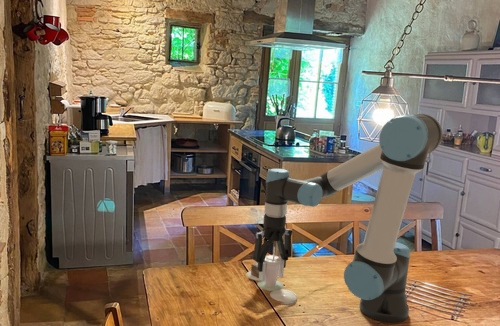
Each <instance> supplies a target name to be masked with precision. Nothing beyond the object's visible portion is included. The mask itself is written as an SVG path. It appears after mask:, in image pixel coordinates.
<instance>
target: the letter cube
mask: <svg viewBox="0 0 500 326" xmlns="http://www.w3.org/2000/svg"><path fill="white" fill-rule="evenodd" d="M250 266H251V268H250V269H251V270H250V271H251V275H253V276H255V277H257V278H259V271H258V262H253V263H252V264H251V265H250Z"/></svg>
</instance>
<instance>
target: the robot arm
mask: <svg viewBox="0 0 500 326" xmlns="http://www.w3.org/2000/svg"><path fill="white" fill-rule="evenodd" d="M378 138H379V139H378V142H379V143H378V144H377V145H374V146H373V147H370V148H369V149H367V150H365V151H363V152H362V153H358V155H356V156H354V157H351V158H350V159H348V160H346V161H344V162H342V163H340V164H339V165H338V166H335V167H333V168H331V169H329V170H328V171H326V172H324V173H322V174H320V175H318V176H314V177H311V178H306V179H297V178H296V179H295V178H292V177H290V171H289V170H286V169H283V168H270V169H268V170H267V173H266V180H265V198H264V211H263V212H264V215H263V229H262V231H259V232H258V231H256V232H255V233H254V235H255V243H254V248H253V256H252V260H253V261H255V263H257V262H258V271H259V279H260V280H261V281H265V267H266V263H265V262H264V260H265V257H266V256H267V254H268V252H269V249H270V247H271V246H272V244H273V242H276V244H277V247H278V252H279V257H280V258H281V263H280V266H279V271H278V276H277V277H278V278H280V279H283V278H284V272H285V268H286V265H287V261H288V260H289V258H291V257H292V235H293V230H292V229H290V228H286V223H287V216H286V215H287V213H288V210H287V209H288V202H292V203H295V204H300V205H302V206H304V207H316V206H318V205H319V204H320V203H321V201H322V199H324V198H328V197H331V196H334V195H335V194H337V192H340V191H342V190H343V189H346V188H348V187H350V186H351V185H354V184H356V183H357V182H359V181H362V180H363V179H366V178H368V177H370V176H372V175H374V174H376V173H378V172H380V171H381V176H380V179H379V183H378V186H377V190H376V195H375V198H374V202H373V205H372V209H371V212H370V217H369V220H368V222H367V228H366V231H365V235H364V239H363V242H361V243H359V244H357V246H356V248H355V252H354V256H353V257H352V261H351V262H349V263H348V264H347V265H346V267H345V269H344V271H343V279H344V283H345V285H346V286H347V288H348V290H349V292H350V293H351V294H352V295H354V296H355V297H356V298H358V299H360V300H359V310H360V311H361V312H362V313H363V314H364V315H365V316H367V317H368V318H371V319H373V320H376V321H379V322H383V323H389V324H390V323H394V324H395V323H402V322H404V321H406V320H407V319H408V318H409V314H410V313H409V312H410V311H409V310H410V307H409V304H408V299H407V294H406V289H407V288H406V287H407V281H408V273H409V272H408V271H409V265H410V259H411V257H410V256H411V250H410V248H409V247H408V246H407V245H405V244H403V243H401V242H398V241H397V240H398V236H399V233H400V228H401V226H402V222H403V220H404V219H403V218H404V215H405V211H406V209H407V204H408V202H409V198H410V194H411V192H412V191H411V190H412V187H413V184H414V181H415V177H416V174H417V173H419V172H422V171H423V170H424V168H425V164H426V160H427V157H428V154H430V153H432V152H434V151H435V150H436V149H437V148H438V147H439V145H440V144H441V142H442V139H443V129H442V126H441V124H440V123H439V121H438V120H437V119H436V118H435V117H433V116H432V115H430V114H425V113H415V114H409V113H408V114H406V113H405V114H400V115H397V116H395V117H393V118H391V119H389V120H387V122H386V123H385V124H384V125H383V127H382V128H381V130H380V133H379V136H378ZM283 237H284V238H283Z"/></svg>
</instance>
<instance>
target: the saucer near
mask: <svg viewBox="0 0 500 326" xmlns="http://www.w3.org/2000/svg"><path fill="white" fill-rule="evenodd" d="M269 296H270V297H271V299H272V300H275V301H278V302H282V303H279V305H280V306H291V305H294V304H296V302H297V301H298V300H297V299H298V295H297V294H296V293H295V292H294V291H293V290H289V289H284V288H282V289H278V290H275V291H270V293H269Z"/></svg>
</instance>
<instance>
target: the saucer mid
mask: <svg viewBox="0 0 500 326" xmlns="http://www.w3.org/2000/svg"><path fill="white" fill-rule="evenodd" d="M257 286H258V288H260V289H262V290H264V291H268V292H269V291H270V292H272V291H275V290H278V289H284V284H283V282H282V281H280V280H277V281H276V286H275V287H268V286H266V285H265V281H257Z"/></svg>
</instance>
